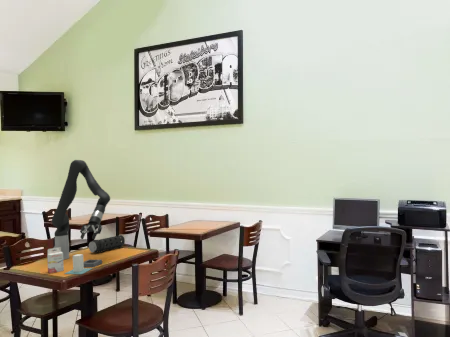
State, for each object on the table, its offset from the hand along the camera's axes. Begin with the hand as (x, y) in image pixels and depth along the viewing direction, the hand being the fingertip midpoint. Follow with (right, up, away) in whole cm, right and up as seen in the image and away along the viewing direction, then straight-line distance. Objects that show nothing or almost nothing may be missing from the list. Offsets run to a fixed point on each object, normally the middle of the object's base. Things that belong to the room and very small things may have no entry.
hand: (87, 238), depth 245 cm
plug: (-1, -18, -13) cm, 22 cm away
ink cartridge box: (-16, -19, -10) cm, 27 cm away
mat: (-1, -18, -13) cm, 22 cm away
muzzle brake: (-2, -19, +48) cm, 51 cm away
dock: (+2, -18, +2) cm, 18 cm away
